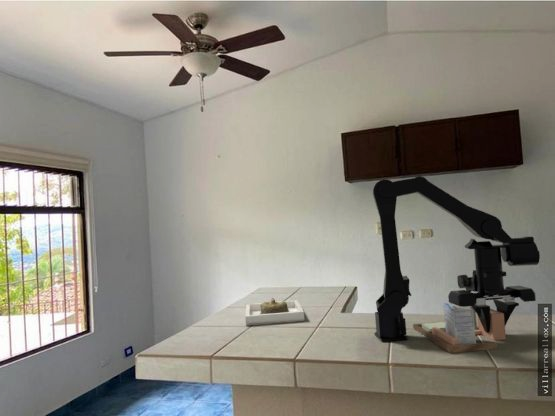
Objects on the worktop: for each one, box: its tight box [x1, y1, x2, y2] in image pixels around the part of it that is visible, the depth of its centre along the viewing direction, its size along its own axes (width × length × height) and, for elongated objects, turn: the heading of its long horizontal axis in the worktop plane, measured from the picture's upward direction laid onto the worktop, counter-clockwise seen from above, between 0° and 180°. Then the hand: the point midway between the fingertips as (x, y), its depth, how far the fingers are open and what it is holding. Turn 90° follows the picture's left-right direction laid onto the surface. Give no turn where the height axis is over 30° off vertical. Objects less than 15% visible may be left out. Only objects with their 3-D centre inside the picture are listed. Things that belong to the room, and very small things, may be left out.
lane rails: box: [412, 321, 498, 354], centre depth 97 cm, size 11×20×1 cm, turn 3°
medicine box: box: [443, 302, 477, 345], centre depth 93 cm, size 8×4×9 cm, turn 173°
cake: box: [260, 297, 289, 314], centre depth 131 cm, size 10×10×5 cm
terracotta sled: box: [432, 308, 507, 346], centre depth 94 cm, size 15×10×6 cm
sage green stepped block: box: [421, 306, 478, 331], centre depth 103 cm, size 12×5×6 cm, turn 93°
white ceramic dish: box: [244, 299, 305, 327], centre depth 131 cm, size 18×18×3 cm
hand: (493, 331), depth 95 cm, fingers closed on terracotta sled, 3 cm apart
